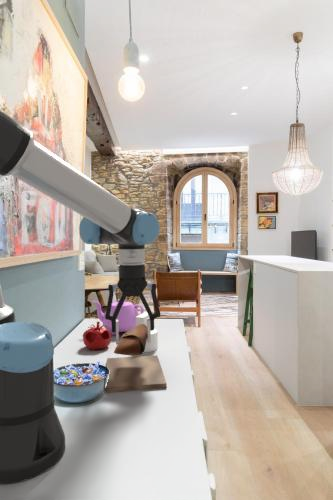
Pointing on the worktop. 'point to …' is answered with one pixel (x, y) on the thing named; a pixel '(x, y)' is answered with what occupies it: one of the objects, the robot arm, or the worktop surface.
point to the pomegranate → (96, 337)
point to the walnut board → (135, 373)
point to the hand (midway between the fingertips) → (133, 342)
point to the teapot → (120, 316)
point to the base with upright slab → (154, 335)
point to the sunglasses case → (133, 341)
